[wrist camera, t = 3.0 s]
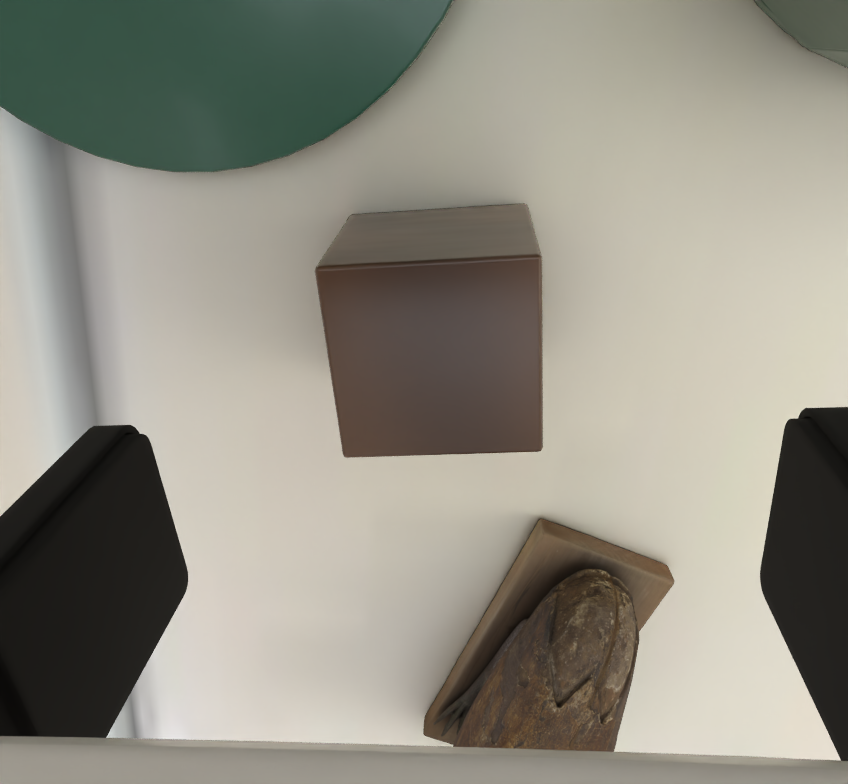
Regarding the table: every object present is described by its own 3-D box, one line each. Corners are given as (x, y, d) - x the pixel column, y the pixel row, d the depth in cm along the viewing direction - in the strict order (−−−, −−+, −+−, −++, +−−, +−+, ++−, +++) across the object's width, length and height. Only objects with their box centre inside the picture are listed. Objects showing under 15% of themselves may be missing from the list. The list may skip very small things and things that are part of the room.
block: (369, 373, 20) (342, 459, 16) (349, 213, 18) (313, 267, 14) (529, 366, 19) (542, 453, 15) (527, 202, 17) (542, 254, 13)
